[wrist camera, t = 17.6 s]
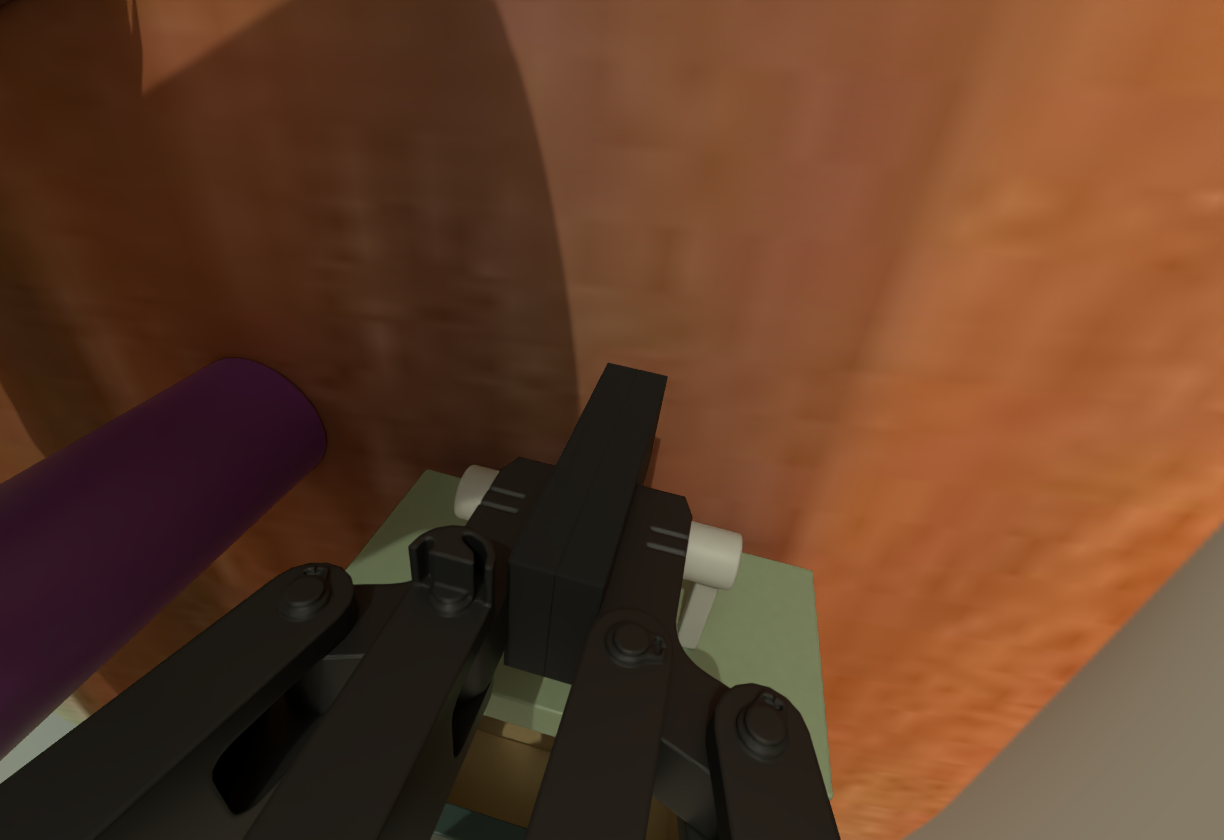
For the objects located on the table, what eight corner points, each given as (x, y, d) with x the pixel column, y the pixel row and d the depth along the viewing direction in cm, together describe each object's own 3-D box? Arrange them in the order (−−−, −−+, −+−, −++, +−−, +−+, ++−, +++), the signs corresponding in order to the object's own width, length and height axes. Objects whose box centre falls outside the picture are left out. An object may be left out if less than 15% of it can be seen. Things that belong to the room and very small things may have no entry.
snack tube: (180, 340, 20) (-550, 707, 9) (316, 374, 20) (-281, 810, 9) (220, 455, 24) (-289, 836, 12) (338, 487, 23) (-80, 918, 12)
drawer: (418, 367, 18) (257, 518, 12) (862, 475, 16) (913, 703, 11) (442, 700, 29) (364, 858, 23) (704, 781, 27) (688, 970, 22)
